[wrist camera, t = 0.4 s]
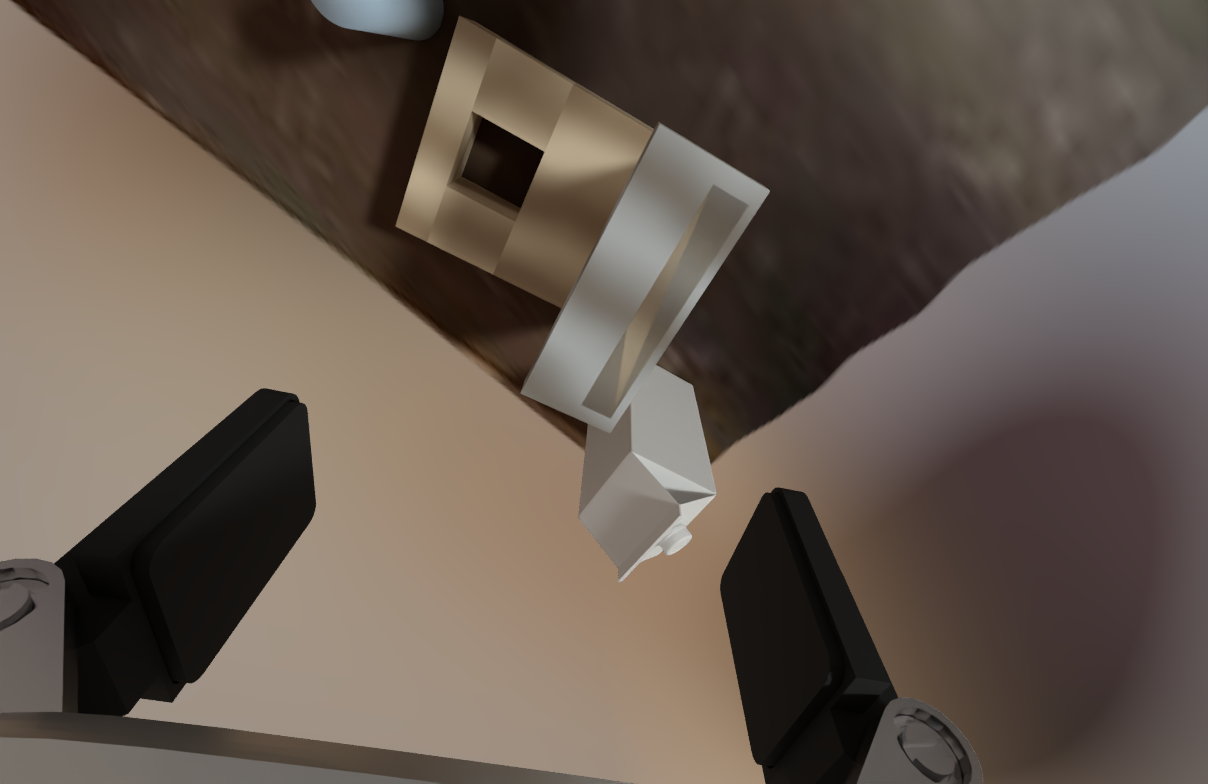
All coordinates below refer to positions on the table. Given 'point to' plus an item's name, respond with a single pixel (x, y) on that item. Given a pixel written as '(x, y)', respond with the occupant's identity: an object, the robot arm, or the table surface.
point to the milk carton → (647, 474)
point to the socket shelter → (577, 218)
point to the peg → (386, 16)
